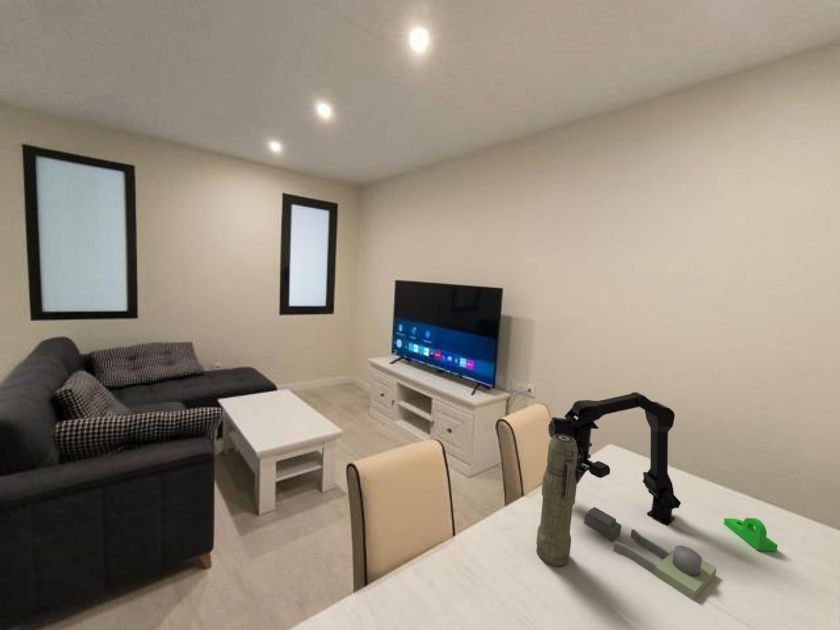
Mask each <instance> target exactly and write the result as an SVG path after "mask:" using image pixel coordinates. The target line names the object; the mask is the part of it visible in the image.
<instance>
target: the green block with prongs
mask: <svg viewBox="0 0 840 630" xmlns="http://www.w3.org/2000/svg"><path fill="white" fill-rule="evenodd" d="M630 531H631V532H630V538H631V539H632V540H633V541H634V542H635V543H636V544H638V546H640V547H642V548H644V549H645V550H646V551H649V552H650V553H652V554H654V555H656V556H657V557H659V558H660V559H662V560H661V561H660V562H659V563H658V564H657V563H655V562H654V561H652V560H651V559H649V558H647V557H646V556H644V555H643V554H642V553H639V552H638V551H637V550H635V549H634V548H632V547H630V546H628V545H626V544H625V543H621V542H619V541H616V540H614V541H613V542H614V543H613V550H612V551H613V552H616V553H618V554H620V555H621V554H622V555H624V556H625V557H626V558H628V559H630V560H631V561H633V562H635V563H636V564H638V565H639V566H641V567H642V568H644V570H647V571H649V572H650V573H652V574H653V576H655V577H657V578H659V580H661V581H663V582H665V583H666V584H668V585H669V586H671V587H672V588H673V589H675V590H676V591H678V592H679V593H681V594H683V595H684V596H685V597H687V598H688V599H690V600H692V601H695V600H696V598H697V597H698V596H699V595H700V594H701V592H703V591H704V589H705V588H706V587H707V586H708V585H709V584H710V583H711V582H712V580H713V579H714V578H715V577H716V575H717V566H714V565H712V564H711V563H709V562H707V561H705V560H703V557H702V556H701V555H700V554H699V552H697V551H695V550H694V549H692V548H690V547H688V546H684V545H675V546H674V549H673V551H668V550H666V549H665V548H664V547H661V546H660V545H658V544H656V543H655V542H653V541H651V540H649V539H648V538H646V537H644V536H642V535H641V534H640V533H639V532H638V531H637V530H636V529H634V528H632V529H630Z"/></svg>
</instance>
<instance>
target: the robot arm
mask: <svg viewBox="0 0 840 630" xmlns="http://www.w3.org/2000/svg"><path fill="white" fill-rule="evenodd" d="M637 408H639V409H640V408H641V409H642V410H644V414H645V419H646V422H647V424H648V426H649V428H650V460H649V461H650V468H649V470H648V471H643V472H642V475H643V478H642V483H643V484H644V486H645V488H646V490H647V491H648V494H650V495H651V496H652V504H651V509H650V510H649V511H648V512H646V515H647V516H648V517H650V518H652V519H654V520H656V521H658V522H660V523H662V524H664V525H666V526H669V525H670V524H671V523H673V522H674V521H675V520H676V517H675V516H672V515H673V510H675V509H679V508H680V506H681V504H682V502H681V501H680V500H679V499H678V497H676V495H675V491H674V490H675V489H674V487H673V486H674V485H673V484H674V483H673V482H672V480H671V478H670V476H669V472H668V469H669V468H668V467H669V466H668V464H669V461H668V459H669V455H668V454H669V431H671V429H672V428H673V426H674V422H675V417H676V416H675V412H674V410H672V409H671V408H670V407H668V406H666V405H664V404H662V403H660V402H658V401H652V400H651V399H649V398H647V396H645V395H643V394H642V393H640V392H638V391H636V392H635V391H634V392H631V393H629V394H623V395H620V396H615V397H611V398H606V399H602V400H590V399H585V400H581V399H580V400H577V401H575V402H573V404H572V407H571V408H570V409H569V411H568V412H566V414H565V415H564V417H563V418H562V417H557V416H556V417H555V416H553V417H551V420H550V421H549V424H548V434H549V438H552V436H554V435H557V434H564V435H567V436H570V437H572V438H573V439H574V440H575V441H576V445H577V449H578V455H577V464H576V471H575V472H576V473H575V478H576V482H577V485H578V484H579V482H580V481H581V480H582V478H583V477H584V475H585V473H586V472H589V473H590V475H591V476H594V477H596V478H598V479H603V478H604V477H606V476H608V475H611V468H610V466H609V464H607V463H604V462H601V461H599V460H597V461H594V462H593V461H592V460H590V459H591V457H592V454H590V447H593V443H592V442H591V436H592V430H598V429H599V426H598V425H597V424H596V421H598V420H600V419H601V418H602V417H603V416H605V415H610V414H614V413H617V412H618V413H619V412H624V411H628V410H632V409H637ZM576 418H577V419H576Z"/></svg>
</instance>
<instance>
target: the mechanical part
mask: <svg viewBox="0 0 840 630" xmlns="http://www.w3.org/2000/svg"><path fill="white" fill-rule="evenodd" d="M723 524H724V525H725V526H726V527H727V528H729V529H730V530H732V531H733V533H735V534H736V535H737V536H739V538H742V539H743V540H744V541H746V543H748V544H749V545H750V546H751V547H753V549H756V551H767V552H768V551H769V552H777V551H778V546H779V545H778V543H776V542H774V541H773V540H772V539H770V538H769V537H767V534H768V533H767V529H766V527H765V524H764V523H763V522H762V521H761V520H760V519H759V518H756V517H746V518H745V519H744V520H741V519H737V518H730V517H729V518H728V517H727V518H726V517H725V518H724V520H723Z"/></svg>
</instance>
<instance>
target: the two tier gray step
mask: <svg viewBox="0 0 840 630" xmlns="http://www.w3.org/2000/svg"><path fill="white" fill-rule="evenodd" d="M583 524H584V525H586V526H587V527H588V528H591V529H592V531H595V532H596V533H598V534H599V535H601V536H602V537H604V538H606V539H607V540H608V541H610V542H612V543H613V542H614V541H616V540H617V539H618V538H620V537H621V533H622V524H621V523H619V522H617V518H615V517H614V516H612V515H609V514H608V513H606V512H604V511H603V510H601V509H599V508H597V507H596V506H594V507H592V508H589V510H588V511H587V512H586V513H585V515H584V523H583Z"/></svg>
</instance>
